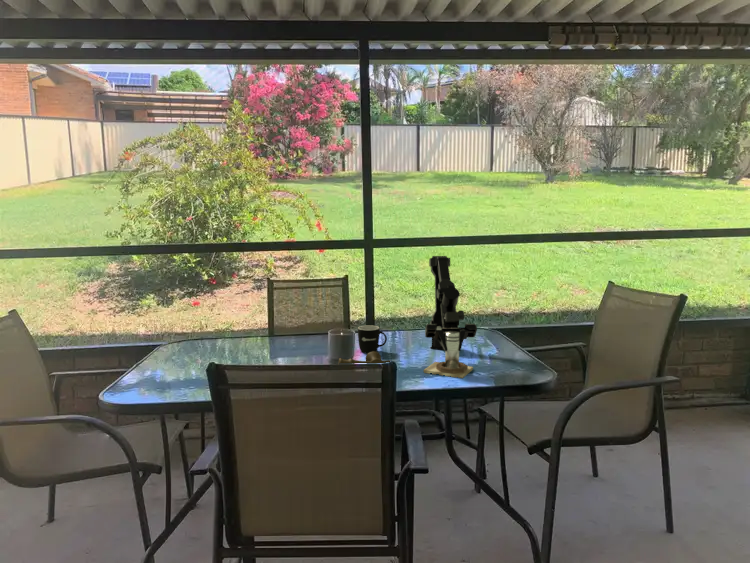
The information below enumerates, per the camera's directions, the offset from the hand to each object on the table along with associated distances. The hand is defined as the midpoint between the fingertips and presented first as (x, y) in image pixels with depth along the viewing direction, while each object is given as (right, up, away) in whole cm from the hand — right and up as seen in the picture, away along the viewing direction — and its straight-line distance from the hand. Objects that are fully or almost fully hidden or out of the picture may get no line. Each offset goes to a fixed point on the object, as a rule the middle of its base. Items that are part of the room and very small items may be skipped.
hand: (452, 350), depth 218 cm
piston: (0, -6, +2) cm, 7 cm away
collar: (-1, -8, +4) cm, 9 cm away
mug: (-29, -4, +31) cm, 43 cm away
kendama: (-32, -8, +6) cm, 33 cm away
